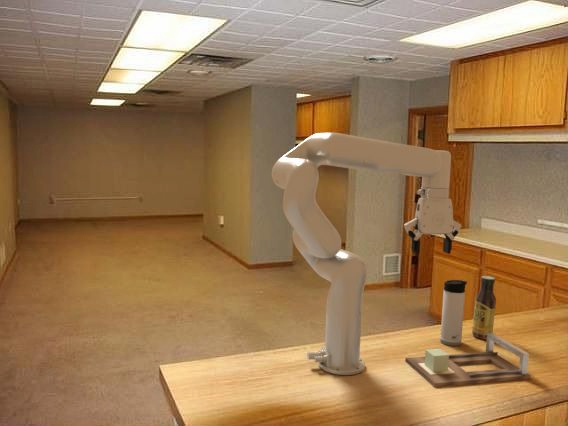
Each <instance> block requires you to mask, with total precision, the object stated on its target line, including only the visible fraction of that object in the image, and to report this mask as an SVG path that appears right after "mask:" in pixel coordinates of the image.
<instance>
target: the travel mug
mask: <svg viewBox="0 0 568 426" xmlns="http://www.w3.org/2000/svg"><path fill="white" fill-rule="evenodd" d="M467 284H468V283H467V281H466V280H461V279H450V280H446V281H445V282H444V285H443V286H444V287H443V291H442V292H443V295H442V310H441V324H440V325H441V326H440V338H439V341H440V343H442V344H443V345H445V346H451V347H458V346H460V345H462V336H463V325H464V324H463V323H464V311H465V310H464V309H465V295H466V285H467Z"/></svg>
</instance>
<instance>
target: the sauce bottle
mask: <svg viewBox="0 0 568 426" xmlns="http://www.w3.org/2000/svg"><path fill="white" fill-rule="evenodd" d="M480 279H481V280H480V282H481V284H480V289H479V291H478V294H477V297H476V298H475V300H474V310H473V318H472V327H471V330H472V333H471V335H472V336H473V337H475V338H477V339H479V340H487V333H494V323H495V315H496V304H497V303H496V302H497V298H496V296H495V293H494V285H495V282H496V278H495V277H494V276H488V275H483V276H481V278H480Z"/></svg>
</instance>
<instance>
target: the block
mask: <svg viewBox="0 0 568 426" xmlns="http://www.w3.org/2000/svg"><path fill="white" fill-rule="evenodd" d="M449 355H450V354H449V353H447V352H445V351H444V350H443V349H441V348H433V349H432V348H431V349H425V354H424V357H425V366H426V367H427V368H429V369H430V370H431V371H432V372H440V371H448V362H449Z"/></svg>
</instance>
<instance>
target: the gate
mask: <svg viewBox="0 0 568 426" xmlns="http://www.w3.org/2000/svg"><path fill="white" fill-rule="evenodd" d="M495 343H496V344H497V345H499V346H501V347H502V348H504V349H506V350H507V351H508V352H510V353H513V354H514V355H515V356H518V357H519V366H518V368H519V373H520V374H522V375H523V374H527V373H528V368H529V358H530V357H529V355H530V353H529V352H527V351H526V350H524V349H522V348H520V347H518V346H517V345H514V344H513V343H511V342H510V341H508V340H506V339H504V338H502V337H501V336H499V335H497V334H496V333H494V332H493V333H487V339H486V343H485V344H486V346H485V352H487V353H491V352H494V349H495Z"/></svg>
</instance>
